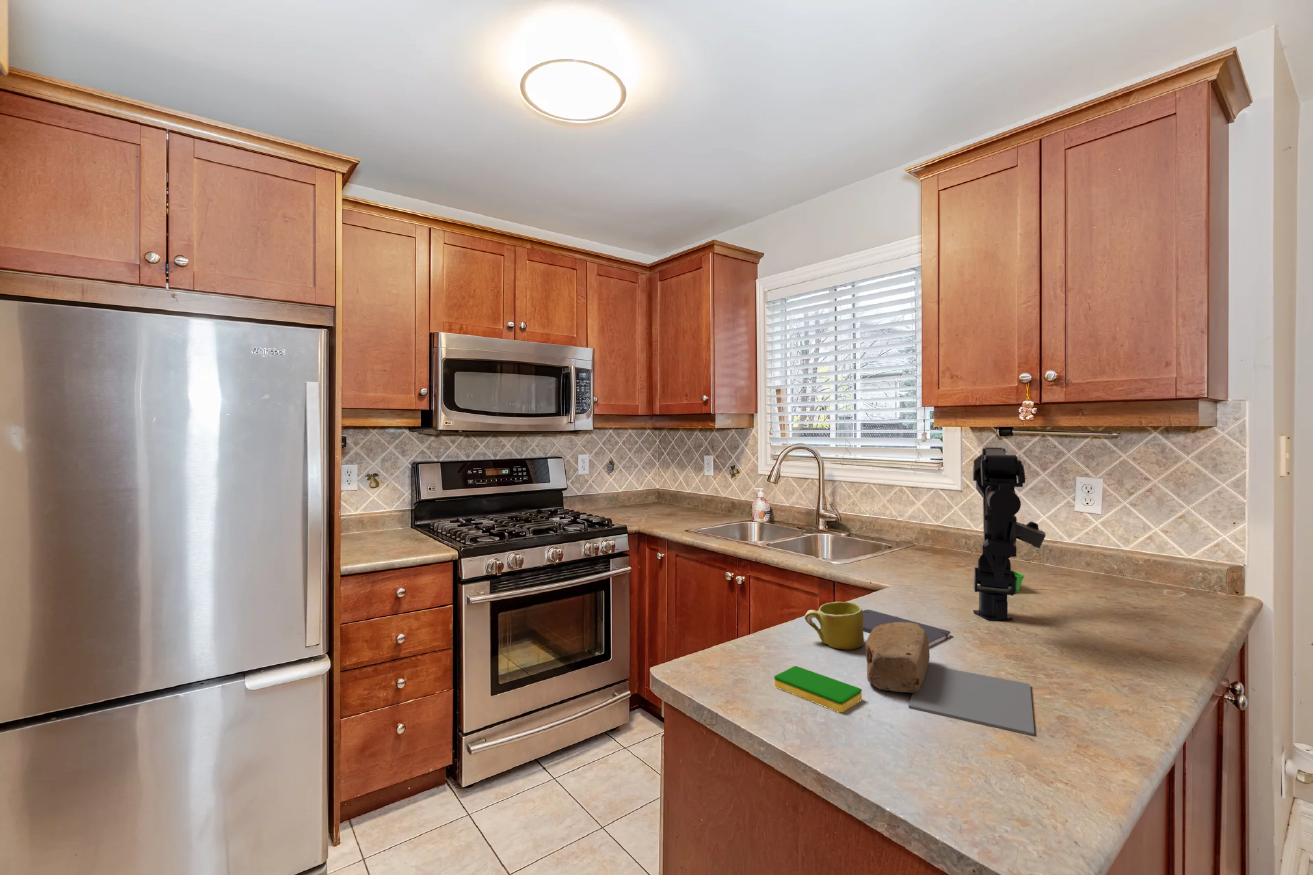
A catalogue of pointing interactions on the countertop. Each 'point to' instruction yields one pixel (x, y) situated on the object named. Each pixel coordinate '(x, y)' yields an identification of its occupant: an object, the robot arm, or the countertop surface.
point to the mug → (839, 624)
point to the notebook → (877, 618)
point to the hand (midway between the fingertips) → (999, 580)
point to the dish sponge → (818, 688)
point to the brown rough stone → (897, 656)
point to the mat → (976, 699)
